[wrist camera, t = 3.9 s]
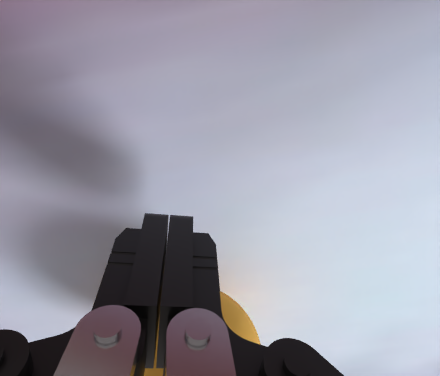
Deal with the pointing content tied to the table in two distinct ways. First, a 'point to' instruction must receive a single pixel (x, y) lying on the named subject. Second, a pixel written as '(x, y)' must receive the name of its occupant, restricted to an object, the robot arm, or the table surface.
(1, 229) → the table surface
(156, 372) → the ball
